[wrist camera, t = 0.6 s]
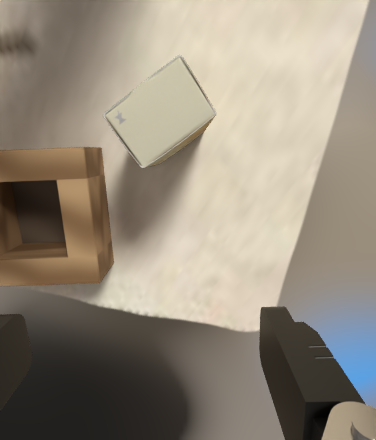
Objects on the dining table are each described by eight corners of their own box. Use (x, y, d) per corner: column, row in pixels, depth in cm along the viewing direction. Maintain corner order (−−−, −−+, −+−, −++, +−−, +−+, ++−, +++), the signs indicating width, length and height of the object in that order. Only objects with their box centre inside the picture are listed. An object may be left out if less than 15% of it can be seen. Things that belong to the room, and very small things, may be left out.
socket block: (-20, 152, 30) (-63, 153, 25) (101, 148, 30) (82, 147, 25) (4, 266, 33) (-30, 287, 28) (113, 262, 33) (99, 283, 28)
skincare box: (158, 165, 30) (138, 174, 18) (134, 130, 30) (96, 117, 18) (208, 129, 29) (220, 114, 18) (184, 92, 29) (179, 51, 17)
